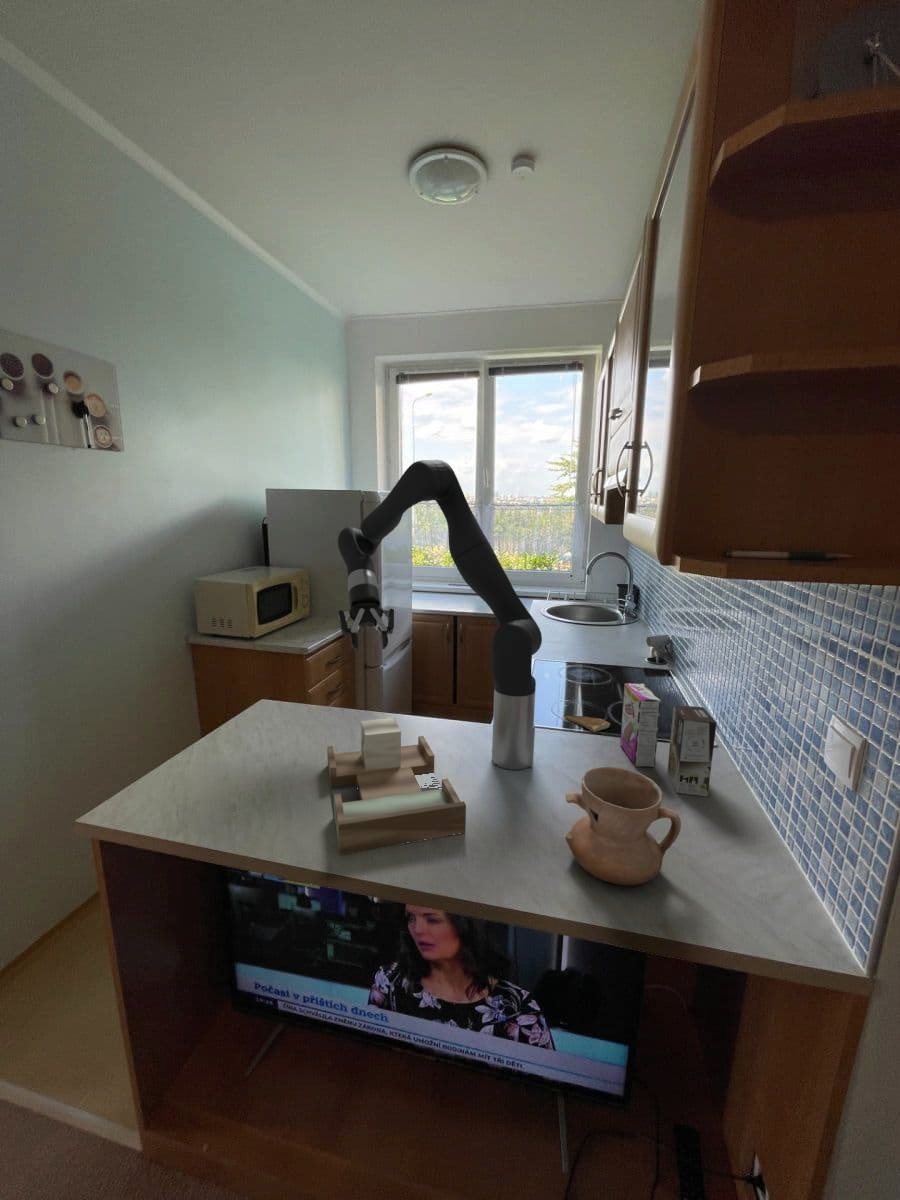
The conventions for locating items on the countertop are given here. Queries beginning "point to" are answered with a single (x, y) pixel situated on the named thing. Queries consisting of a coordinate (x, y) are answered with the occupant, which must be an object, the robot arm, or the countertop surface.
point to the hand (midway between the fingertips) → (370, 647)
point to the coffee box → (691, 750)
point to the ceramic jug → (620, 826)
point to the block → (380, 744)
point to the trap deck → (391, 801)
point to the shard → (589, 722)
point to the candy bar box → (640, 724)
